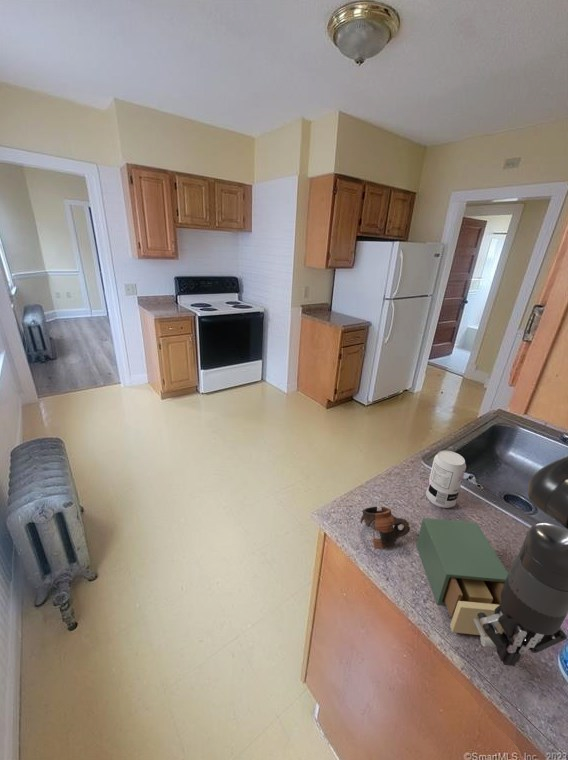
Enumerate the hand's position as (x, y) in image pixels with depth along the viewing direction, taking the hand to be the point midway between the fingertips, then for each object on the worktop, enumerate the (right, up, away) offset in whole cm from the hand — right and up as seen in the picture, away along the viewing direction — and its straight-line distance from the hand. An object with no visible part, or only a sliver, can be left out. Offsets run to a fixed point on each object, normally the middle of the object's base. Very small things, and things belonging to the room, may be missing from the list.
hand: (505, 659), depth 55 cm
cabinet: (+1, +3, +19) cm, 19 cm away
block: (+1, +2, +11) cm, 12 cm away
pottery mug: (-12, +7, +29) cm, 32 cm away
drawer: (+1, 0, +11) cm, 11 cm away
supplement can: (+9, +11, +42) cm, 44 cm away
